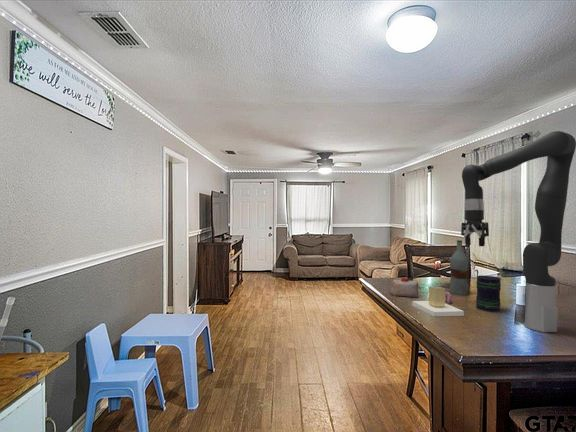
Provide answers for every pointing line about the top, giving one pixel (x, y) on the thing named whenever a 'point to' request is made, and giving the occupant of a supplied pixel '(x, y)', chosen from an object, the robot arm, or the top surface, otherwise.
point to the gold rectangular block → (436, 296)
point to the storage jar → (488, 293)
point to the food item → (405, 288)
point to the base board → (437, 309)
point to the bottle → (459, 271)
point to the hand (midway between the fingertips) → (474, 245)
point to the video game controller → (448, 297)
